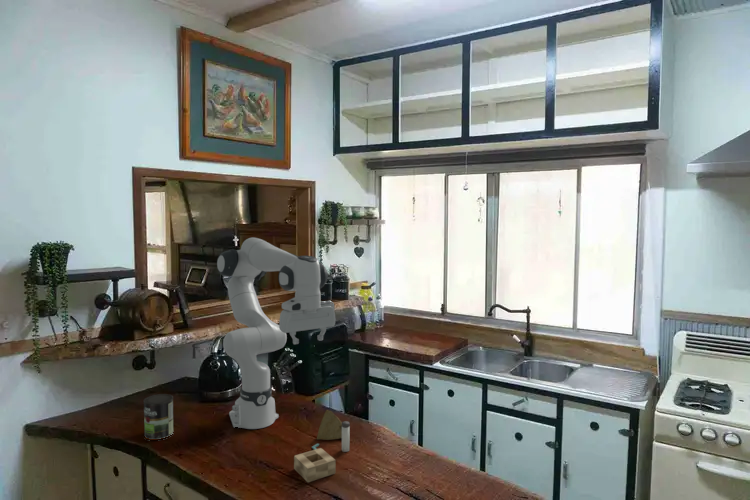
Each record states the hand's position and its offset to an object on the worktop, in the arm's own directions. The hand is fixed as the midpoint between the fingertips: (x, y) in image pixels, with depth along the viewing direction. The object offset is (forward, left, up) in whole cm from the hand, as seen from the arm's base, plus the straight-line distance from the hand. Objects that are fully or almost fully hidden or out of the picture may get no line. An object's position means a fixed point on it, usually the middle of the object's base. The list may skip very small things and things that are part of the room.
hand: (308, 342), depth 172 cm
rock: (-5, +13, -40) cm, 42 cm away
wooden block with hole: (+13, -4, -40) cm, 42 cm away
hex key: (+3, +4, -40) cm, 40 cm away
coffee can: (-43, -41, -40) cm, 72 cm away
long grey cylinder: (+6, +12, -40) cm, 42 cm away
